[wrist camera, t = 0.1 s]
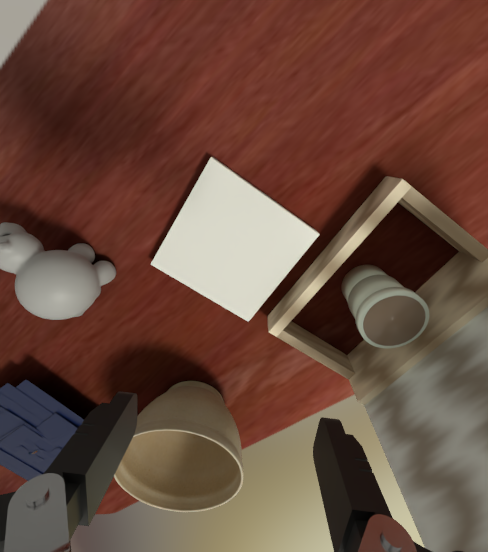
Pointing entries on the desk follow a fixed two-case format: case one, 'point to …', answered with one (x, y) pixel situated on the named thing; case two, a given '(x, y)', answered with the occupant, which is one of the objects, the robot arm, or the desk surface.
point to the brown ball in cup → (383, 307)
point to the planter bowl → (184, 451)
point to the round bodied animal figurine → (52, 274)
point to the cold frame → (419, 374)
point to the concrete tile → (232, 242)
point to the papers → (32, 429)
